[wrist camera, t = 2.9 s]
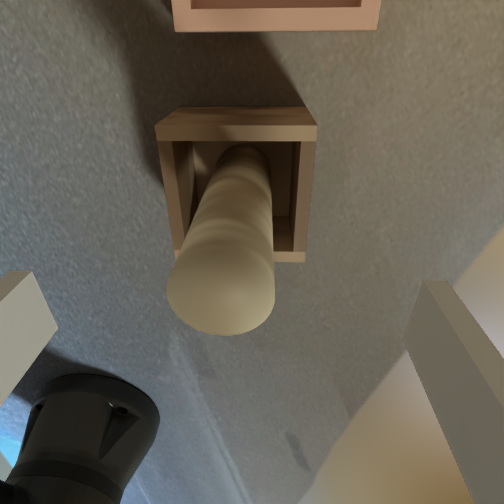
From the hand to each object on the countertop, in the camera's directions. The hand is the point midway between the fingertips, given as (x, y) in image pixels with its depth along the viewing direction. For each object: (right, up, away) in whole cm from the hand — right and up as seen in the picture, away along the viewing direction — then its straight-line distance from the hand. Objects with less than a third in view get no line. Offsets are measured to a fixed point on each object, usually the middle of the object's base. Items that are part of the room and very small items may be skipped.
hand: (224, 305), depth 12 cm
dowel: (0, +8, +12) cm, 15 cm away
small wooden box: (0, +8, +13) cm, 15 cm away
